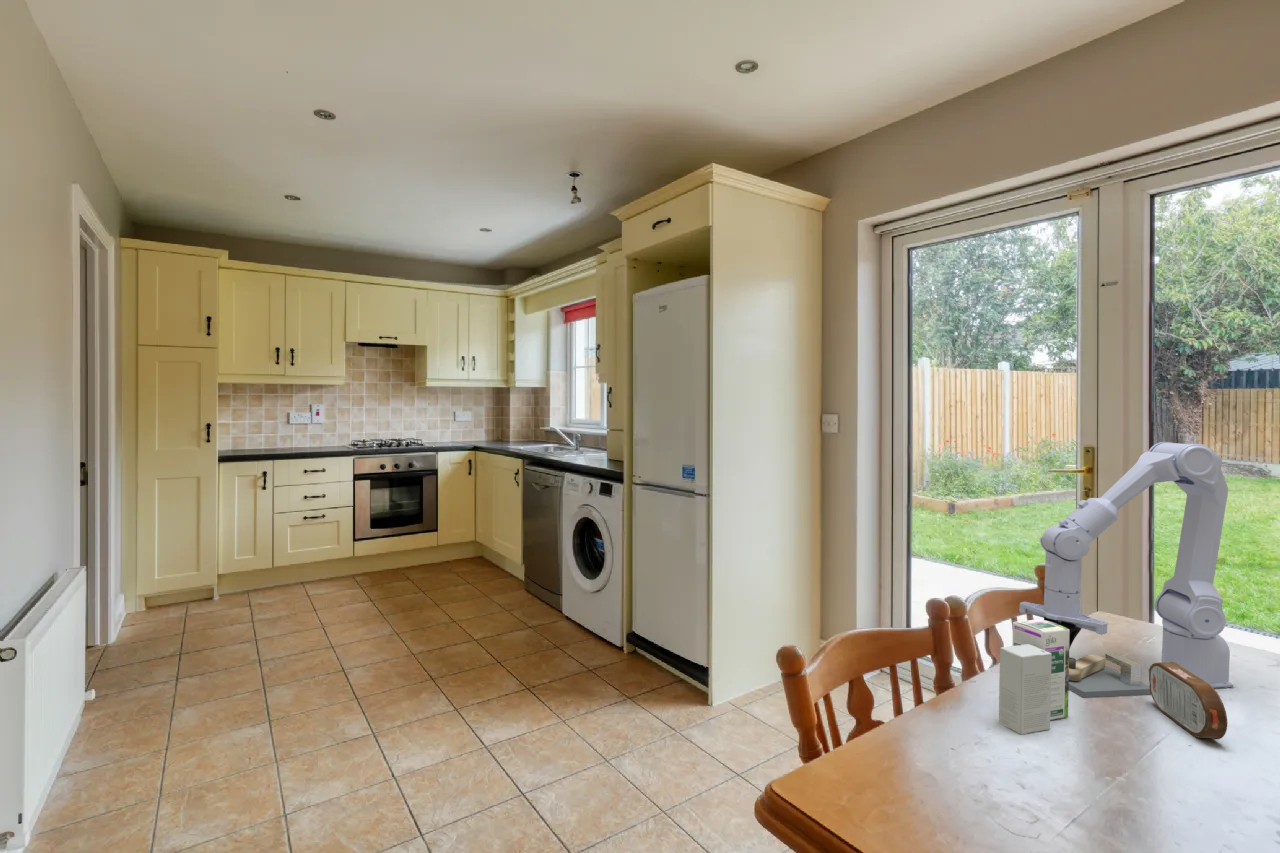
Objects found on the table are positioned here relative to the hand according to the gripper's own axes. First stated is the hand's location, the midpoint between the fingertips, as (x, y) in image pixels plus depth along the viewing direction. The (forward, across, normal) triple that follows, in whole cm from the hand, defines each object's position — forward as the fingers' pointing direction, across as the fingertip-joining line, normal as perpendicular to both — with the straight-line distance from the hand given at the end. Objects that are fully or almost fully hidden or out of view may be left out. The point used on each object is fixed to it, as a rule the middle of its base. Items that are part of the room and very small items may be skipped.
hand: (1059, 659), depth 120 cm
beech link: (+1, +4, -1) cm, 5 cm away
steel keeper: (+1, +9, +2) cm, 10 cm away
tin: (+2, +21, -6) cm, 22 cm away
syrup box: (+2, +7, -22) cm, 24 cm away
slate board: (+2, +6, -1) cm, 6 cm away
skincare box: (+2, +9, -29) cm, 31 cm away
